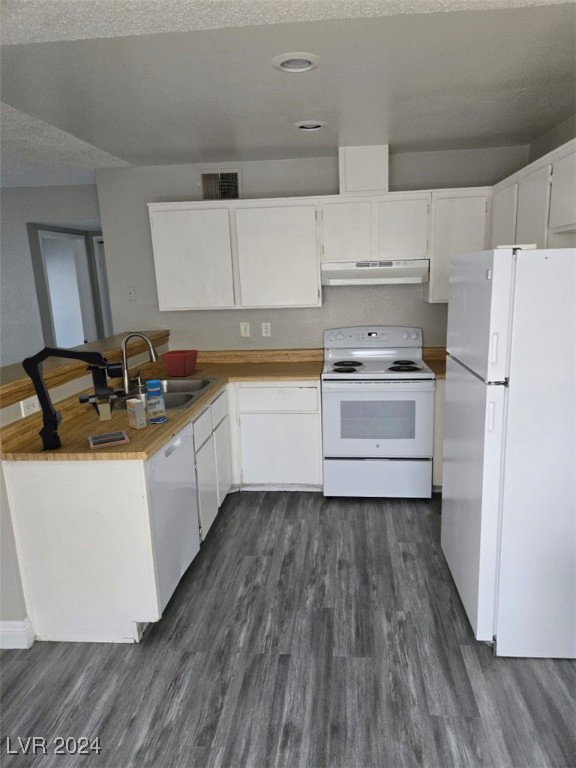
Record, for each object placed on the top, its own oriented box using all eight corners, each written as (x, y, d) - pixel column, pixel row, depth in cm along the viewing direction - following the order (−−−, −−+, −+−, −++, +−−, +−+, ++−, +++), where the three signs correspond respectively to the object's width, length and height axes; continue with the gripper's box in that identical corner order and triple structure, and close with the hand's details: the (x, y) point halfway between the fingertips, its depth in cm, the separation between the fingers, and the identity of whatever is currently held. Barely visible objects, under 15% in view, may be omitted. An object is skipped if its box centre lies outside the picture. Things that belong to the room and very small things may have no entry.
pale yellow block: (100, 420, 213) (98, 407, 212) (99, 418, 217) (97, 405, 216) (111, 418, 215) (109, 405, 214) (110, 416, 219) (108, 403, 218)
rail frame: (91, 449, 208) (90, 447, 208) (88, 439, 223) (88, 436, 222) (129, 442, 214) (129, 439, 214) (124, 432, 229) (124, 430, 228)
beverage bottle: (170, 419, 246) (165, 379, 242) (161, 424, 238) (156, 383, 234) (154, 418, 249) (149, 379, 244) (145, 423, 241) (140, 383, 237)
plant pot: (177, 372, 371) (174, 350, 368) (200, 372, 365) (198, 349, 362) (163, 378, 354) (160, 354, 350) (187, 378, 348) (184, 354, 344)
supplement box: (129, 427, 237) (125, 400, 235) (138, 424, 241) (134, 398, 238) (137, 430, 232) (134, 402, 229) (147, 427, 235) (143, 400, 232)
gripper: (77, 386, 201) (83, 423, 205) (125, 379, 209) (130, 415, 212) (75, 381, 211) (81, 417, 215) (121, 375, 219) (126, 410, 222)
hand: (105, 415), depth 216 cm, fingers closed on pale yellow block, 4 cm apart
